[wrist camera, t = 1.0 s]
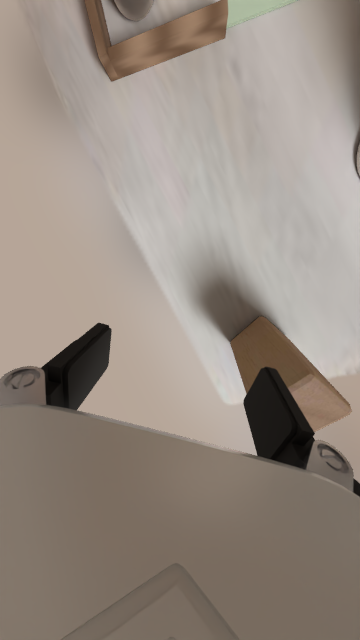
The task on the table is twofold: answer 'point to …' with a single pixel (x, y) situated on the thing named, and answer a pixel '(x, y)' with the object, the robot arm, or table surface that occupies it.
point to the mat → (251, 9)
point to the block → (288, 372)
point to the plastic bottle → (134, 8)
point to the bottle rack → (156, 38)
